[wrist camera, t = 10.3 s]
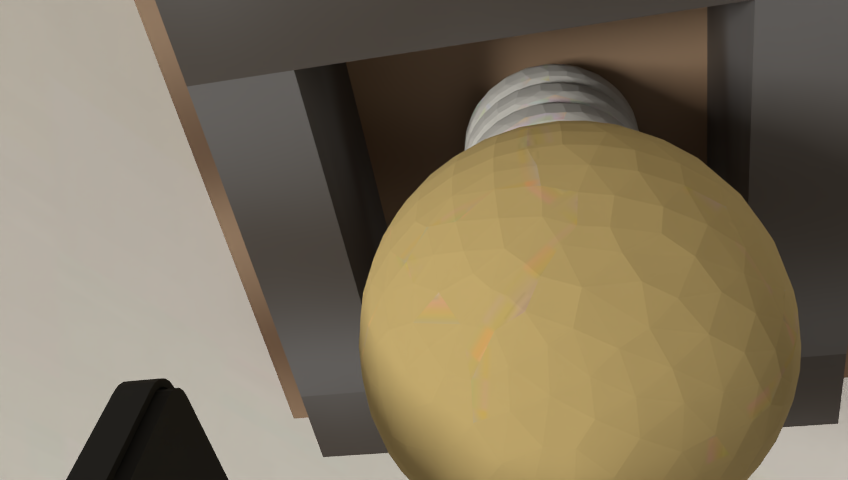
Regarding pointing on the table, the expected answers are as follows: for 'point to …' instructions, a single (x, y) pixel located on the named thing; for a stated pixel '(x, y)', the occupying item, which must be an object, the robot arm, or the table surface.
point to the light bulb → (576, 303)
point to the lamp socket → (445, 138)
